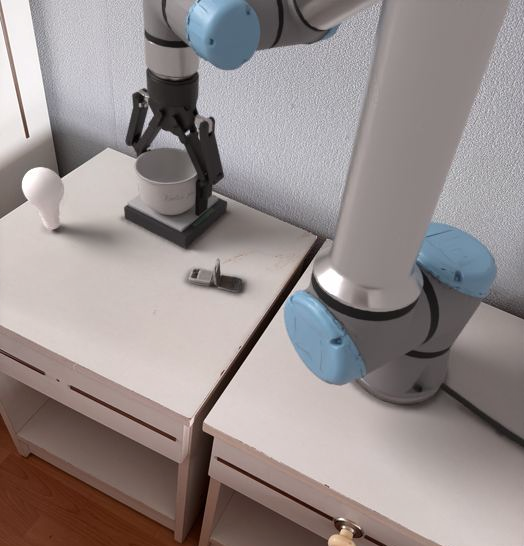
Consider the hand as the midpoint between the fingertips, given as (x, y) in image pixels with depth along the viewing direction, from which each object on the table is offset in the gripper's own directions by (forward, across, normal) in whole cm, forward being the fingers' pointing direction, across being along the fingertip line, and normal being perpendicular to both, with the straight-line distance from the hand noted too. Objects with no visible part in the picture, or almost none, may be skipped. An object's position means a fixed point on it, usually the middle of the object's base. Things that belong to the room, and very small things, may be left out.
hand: (174, 198), depth 91 cm
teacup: (0, 0, 0) cm, 0 cm away
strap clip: (+4, -16, +10) cm, 19 cm away
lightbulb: (+4, +14, +16) cm, 21 cm away
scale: (+3, 0, 0) cm, 3 cm away
